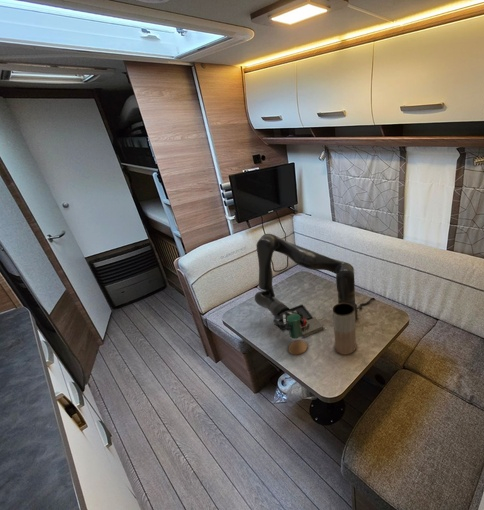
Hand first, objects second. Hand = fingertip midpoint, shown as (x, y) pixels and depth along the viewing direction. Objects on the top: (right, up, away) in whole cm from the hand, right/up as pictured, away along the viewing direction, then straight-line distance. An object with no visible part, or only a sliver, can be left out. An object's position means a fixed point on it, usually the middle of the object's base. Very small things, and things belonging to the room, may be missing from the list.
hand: (297, 326), depth 129 cm
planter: (+23, -12, +7) cm, 27 cm away
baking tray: (-7, -3, +30) cm, 31 cm away
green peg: (-1, -5, +4) cm, 7 cm away
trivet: (-1, -13, +8) cm, 15 cm away
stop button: (0, -4, +20) cm, 20 cm away
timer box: (+4, -7, +21) cm, 22 cm away
